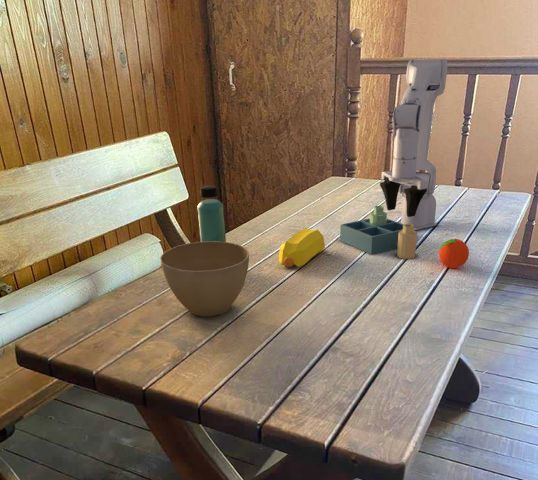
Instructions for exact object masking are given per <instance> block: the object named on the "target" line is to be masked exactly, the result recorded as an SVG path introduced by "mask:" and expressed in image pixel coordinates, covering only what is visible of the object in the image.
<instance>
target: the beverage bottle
mask: <svg viewBox="0 0 538 480" xmlns="http://www.w3.org/2000/svg"><path fill="white" fill-rule="evenodd" d="M199 191H200V193H199V196H200V197H201V198H205V199H203V200H201V201H200V202H199V203H198V205H197V206H196V207H197V216H198V225H199V237H200V238H199V240H200V242H204V241H220V242H227V236H226V224H225V216H224V205H223V203H222V202H221V201H220V200H219V199H215V198H216V197H218V195H219V194H218V189H217V186H215V185H205V186H201V187H200V188H199Z"/></svg>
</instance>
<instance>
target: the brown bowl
mask: <svg viewBox="0 0 538 480" xmlns="http://www.w3.org/2000/svg"><path fill="white" fill-rule="evenodd" d="M249 264H250V253H249V250H248V249H247V248H246V247H244V246H243V245H240V244H237V243H234V242H228V241H226V242H220V241H204V242H201V241H194V242H188V243H183V244H179V245H176V246H174V247H171V248H170V249H166V250H165V251H164V252H163V253H162V254H161V256H160V265H161V269H162V273H163V276H164V278H165V281H166V283H167V285H168V287H169V289H170V290H171V292H172V294H173V295H174V296H175V298H176V299H177V300H178V301H179V303H180V304H181V305H182V306H183V307H184V308H185V309H186V310H187V311H188V312H190V313H191V314H192V315H195V316H197V317H215V316H219V315H221V314H224V313H226V312H227V311H228V310H229V309H230V308H231V307H232V305H233V304H234V303H235V302H236V300H237V299H238V298H239V295H240V294H241V291H242V289H243V287H244V285H245V282H246V279H247V274H248V272H249V271H248V270H249Z"/></svg>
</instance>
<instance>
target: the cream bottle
mask: <svg viewBox="0 0 538 480" xmlns="http://www.w3.org/2000/svg"><path fill="white" fill-rule="evenodd" d="M417 240H418V232H417V230H415V231H414V225H412V224H405V225H403V230H401V231H399V235H398V248H396V249H397V251H396V256H397V258H399V259H405V260H409V259H410V260H411V259H414V258H415V257H416V254H417V253H416V252H417V242H418V241H417Z"/></svg>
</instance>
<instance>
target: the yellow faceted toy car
mask: <svg viewBox="0 0 538 480" xmlns="http://www.w3.org/2000/svg"><path fill="white" fill-rule="evenodd" d="M324 249H326V245H325V238H324V235H323V234H322V233H321V232H320V231H319V229H310V228H307V227H305V228H303V229H301V230H299V231H297V232H296V233H294V234H293V235H291V236H290V237H289V238H288V239H287V240H286V241H285V242H283V244H281V246H279V250H278V251H279V252H278V261H279V263H280V265H281V266H285V267H288V268H292V267H293V266H294V265H295V266H296V267H298V268H300V269H301V268H302V267H303V266H305V264H306V263H308V262H309V261H310V260H311V259H312V258H313V257H315V256H317V255H319V254H320V253H321V252H322V251H323V250H324Z"/></svg>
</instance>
